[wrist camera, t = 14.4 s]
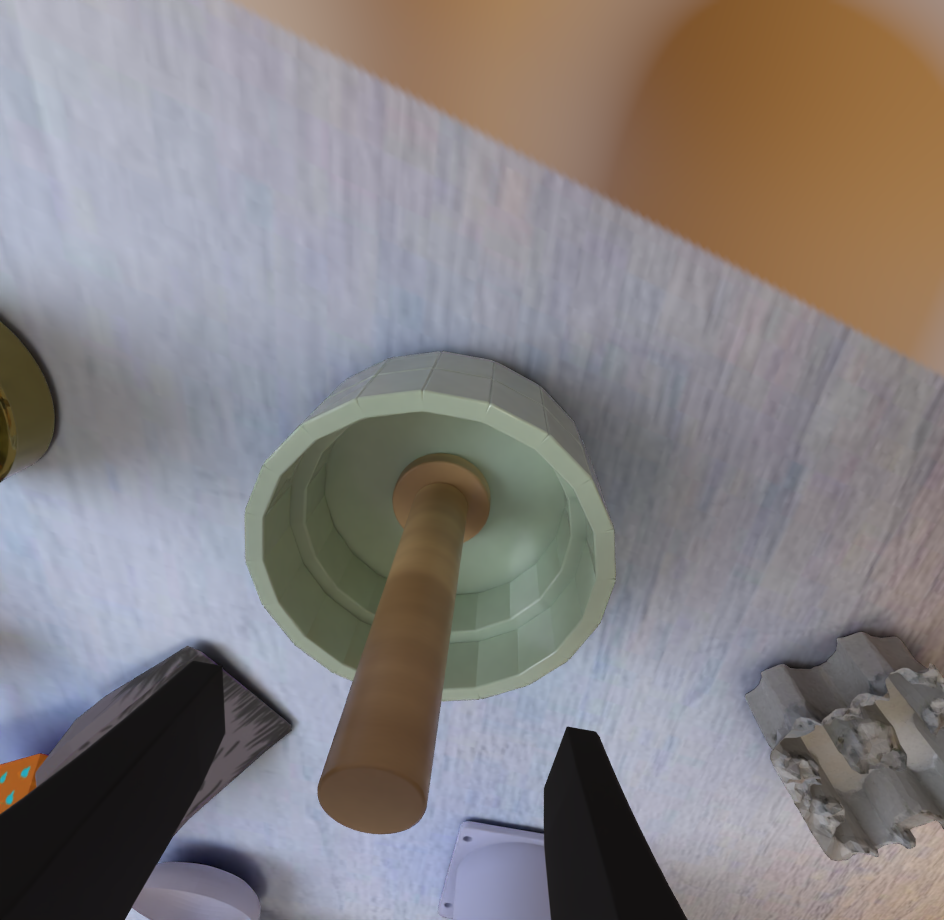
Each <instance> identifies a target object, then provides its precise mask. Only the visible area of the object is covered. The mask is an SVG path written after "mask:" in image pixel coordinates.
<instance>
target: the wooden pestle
mask: <svg viewBox="0 0 944 920" xmlns="http://www.w3.org/2000/svg"><path fill="white" fill-rule="evenodd" d="M490 501H491V494H490V489H489V485H488V483H487V481H486V479H485V477H484V475H483V474H482V473H481V471H480V470H479V469H478V468H477V467H476V466H474V465H473V464H472V463H470V462H469V461H467V460H465V459H464V458H461V457H459V456H456V455H452V454H445V453H436V454H429V455H425V456H422V457H420V458H418V459H416V460H414V461H413V462H411V463H410V464H409V465H408V466H407V467H406V468H405V469H404V470H403V471H402V473H401V474H400V476H399V478H398V480H397V483H396V485H395V488H394V491H393V496H392V505H393V510H394V514H395V516H396V519H397V520H398V522H399V524H400V525H401V526H402V528H403V529H404V530H403V533H402V536H401V539H400V542H399V545H398V548H397V551H396V554H395V557H394V560H393V563H392V566H391V569H390V572H389V575H388V578H387V581H386V584H385V587H384V590H383V593H382V596H381V599H380V602H379V605H378V608H377V611H376V614H375V617H374V620H373V623H372V626H371V629H370V632H369V635H368V638H367V641H366V644H365V647H364V650H363V653H362V656H361V659H360V662H359V665H358V667H357V670H356V673H355V676H354V679H353V682H352V685H351V688H350V691H349V694H348V697H347V700H346V703H345V706H344V709H343V712H342V715H341V718H340V721H339V724H338V727H337V730H336V733H335V736H334V739H333V742H332V745H331V748H330V751H329V754H328V757H327V760H326V763H325V766H324V769H323V772H322V775H321V778H320V781H319V784H318V799H319V802H320V804H321V806H322V808H323V809H324V811H325V812H326V813H327V814H328V815H329V816H330V817H331V818H333V819H334V820H335V821H337V822H338V823H340V824H342V825H344V826H346V827H348V828H351V829H353V830H357V831H360V832H365V833H371V834H391V833H397V832H401V831H404V830H407V829H409V828H411V827H412V826H414V825H415V824H417V823H418V822H419V821H420V819H421V818H422V816H423V815H424V813H425V811H426V808H427V801H428V793H429V786H430V779H431V772H432V765H433V757H434V750H435V743H436V736H437V728H438V721H439V714H440V707H441V700H442V692H443V685H444V678H445V671H446V664H447V656H448V649H449V642H450V635H451V627H452V620H453V613H454V606H455V599H456V591H457V584H458V577H459V570H460V563H461V555H462V548H463V543H464V542H466V541H468V540H470V539H471V538H473V537H474V536H475V535H477V534H478V533H479V532H480V531H481V530H482V528H483V527H484V525H485V524H486V522H487V519H488V516H489V512H490Z"/></svg>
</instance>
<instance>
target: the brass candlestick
mask: <svg viewBox="0 0 944 920" xmlns="http://www.w3.org/2000/svg"><path fill="white" fill-rule="evenodd" d="M54 426H55V411H54V404H53V400H52V395H51V392H50V389H49V386H48V384H47V381H46V379H45V377H44V375H43V373H42V371H41V369H40V367H39V366H38V364H37V362H36V361H35V359H34V358H33V356H32V355H31V353H30V352H29V351H28V349H27V348H26V347H25V345H24V344H23V343H22V342H21V341H20V340H19V338H18V337H17V336H16V335H15V334H14V333H13V332H12V331H11V330H10V329H9V328H8V327H6V326H5V325H4V324H3V323H2V322H1V321H0V482H1V481H3V480H5V479H7V478H9V477H11V476H13V475H15V474H16V473H18V472H20V471H22V470H24V469H26V468H28V467H30V466H32V465H33V464H34V463H36V462H37V461H38V460H39V459H40V458H41V457H42V456H43V455H44V453H45V452H46V450H47V449H48V447H49V445H50V443H51V440H52V437H53V433H54Z"/></svg>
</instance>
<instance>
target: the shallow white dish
mask: <svg viewBox="0 0 944 920" xmlns="http://www.w3.org/2000/svg"><path fill="white" fill-rule="evenodd" d="M132 908H133V909H135V910H136V911H137V912H139V913H140V914H142V915H144V916H145V917H147V918H149V919H151V920H259V917H260V911H261V907H260V901H259V898H258V896H257V895H256V893H255V892H254V891H253V889H252V888H251V887H250V886H249V885H248V884H247V883H246V882H245V881H244V880H242V879H241V878H239V877H237V876H235V875H233V874H231V873H229V872H226V871H224V870H221V869H218V868H215V867H211V866H208V865H202V864H196V863H186V862H164V863H159V864H157V865H156V866H155V868H154V870H153V872H152V873H151V875H150V877H149V878H148V880H147V882H146V884H145V885H144V887H143V889H142V891H141V892H140V894H139V896H138V898H137V899H136V901H135V903H134V904H133V906H132Z"/></svg>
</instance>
